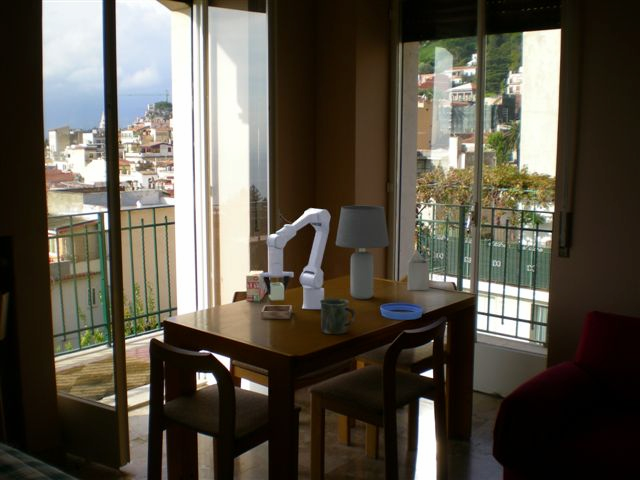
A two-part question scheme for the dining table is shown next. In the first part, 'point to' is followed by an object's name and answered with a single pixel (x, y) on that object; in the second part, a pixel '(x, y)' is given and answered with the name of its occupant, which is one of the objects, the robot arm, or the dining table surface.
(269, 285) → the robot arm
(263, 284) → the stack of blocks
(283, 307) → the big crate
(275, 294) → the box
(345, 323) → the mug
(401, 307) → the bowl
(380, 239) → the lamp
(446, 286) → the dining table surface
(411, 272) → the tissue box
